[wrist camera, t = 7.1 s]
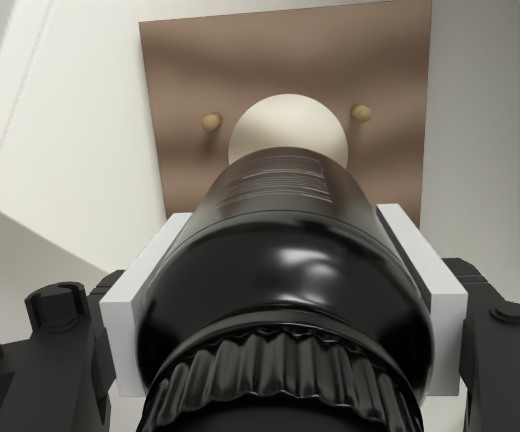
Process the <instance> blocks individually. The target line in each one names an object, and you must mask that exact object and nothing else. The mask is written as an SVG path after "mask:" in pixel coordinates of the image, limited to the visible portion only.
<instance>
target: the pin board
mask: <svg viewBox="0 0 520 432" xmlns="http://www.w3.org/2000/svg"><path fill="white" fill-rule="evenodd" d="M431 10H432V0H399V1H387V2H375V3H363V4H351V5H339V6H327V7H315V8H303V9H291V10H279V11H267V12H255V13H243V14H231V15H219V16H207V17H195V18H183V19H171V20H159V21H147V22H139V29H140V36H141V43H142V50H143V57H144V64H145V71H146V78H147V85H148V92H149V98H150V105H151V112H152V119H153V126H154V133H155V140H156V147H157V154H158V161H159V168H160V175H161V182H162V189H163V196H164V203H165V210H166V217H167V221H168V219H169V218H170V217H171V216H172V215H173V213H192V212H193V213H194V211H195V210H196V208H197V206H198V205H199V203H200V202H201V200H202V198H203V197H204V195H205V194H206V192H207V191H208V189H209V188H210V186H211V185H212V184H213V182H214V181H215V180H216V178H217V177H218V176H219V175H220V174H221V173H222V172H223V171H224V170H225V169H226V168H227V167H228V166H230V165H231V164H232V163H234V162H235V161H236V160H238V159H240V158H241V157H243V156H245V155H247V154H249V153H252V152H254V151H257V150H260V149H265V148H269V147H277V146H294V147H301V148H306V149H310V150H313V151H316V152H319V153H321V154H323V155H325V156H327V157H329V158H331V159H332V160H334V161H336V162H337V163H338V164H340V165H341V166H342V167H343V168H345V169H346V170H347V171H348V172H349V173H350V174H351V175H352V177H353V178H354V179H355V180H356V181H357V183H358V184H359V186H360V187H361V189H362V190H363V192H364V194H365V195H366V197H367V199H368V201H369V202H370V204H371V206H372V207H373V209H374V211H375V213H376V204H396V203H398V204H399V206H400V207H401V208H402V209H403V211H404V212H405V213H406V215H407V216H408V217H409V218H410V220H411V221H412V222H413V224H414V225H415V226H416V227H417V229H418V230H419V225H420V207H421V189H422V171H423V153H424V135H425V117H426V99H427V81H428V63H429V46H430V28H431Z"/></svg>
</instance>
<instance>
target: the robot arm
mask: <svg viewBox="0 0 520 432" xmlns="http://www.w3.org/2000/svg"><path fill="white" fill-rule="evenodd" d="M192 214H193V212H192V213H173V215H172V216H171V217H170V218H169V219H168V221H167V222H166V223H165V224H164V225H163V227H162V228H161V229H160V230H159V231H158V233H157V234H156V235H155V236H154V237H153V238H152V240H151V241H150V242H149V243H148V244H147V246H146V247H145V248H144V249H143V250H142V252H141V253H140V254H139V255H138V256H137V258H136V259H135V260H134V261H133V262H132V264H131V265H130V266H129V267H128V268H127V270H116V271H115V272H113V273H111V274H109V275H108V276H106V277H104V278H103V279H102V280H101V282H100V283H99V284H98V285H97V286H96V288H94V289H93V290H92V291H91V292H90V295H88V296H87V297H86V293H85V289H84V285H83V284H81V283H79V282H60V283H56V284H52V285H48V286H45V287H43V288H40V289H38V290H36V291H35V292H33V293H31V294H30V295H29V296H28V297H27V298H26V299H25V300H24V301H25V304H26V308H27V311H28V315H29V319H30V322H31V326H32V330H33V332H32V334H31V337H30V339H27V340H22V341H17V342H12V343H7V344H2V345H1V344H0V432H109V427H110V414H111V404H110V399H109V395H108V390H109V389H110V387H111V385H112V383H113V382H114V380H115V379H116V383H117V388H118V392H119V396H120V397H146V396H145V393H144V391H143V388H142V385H141V382H140V379H139V375H138V371H137V366H136V360H135V349H134V335H135V325H136V320H137V315H138V311H139V308H140V305H141V301H142V299H143V297H144V295H145V293H146V290H147V288H148V286H149V284H150V282H151V280H152V278H153V277H154V275H155V273H156V272H157V270H158V268H159V267H160V265H161V263H162V262H163V260H164V259H165V257H166V255H167V254H168V252H169V251H170V249H171V247H172V246H173V244H174V243H175V241H176V240H177V238H178V236H179V235H180V233H181V232H182V230H183V228H184V227H185V225H186V224H187V222H188V221H189V219H190V217H191V216H192ZM376 214H377V216H378V218H379V220H380V221H381V223H382V225H383V227H384V228H385V230H386V232H387V233H388V235H389V237H390V239H391V240H392V242H393V244H394V246H395V247H396V249H397V251H398V253H399V254H400V256H401V258H402V260H403V261H404V263H405V265H406V266H407V268H408V270H409V272H410V273H411V275H412V277H413V279H414V281H415V283H416V284H417V286H418V288H419V290H420V292H421V294H422V296H423V298H424V301H425V303H426V306H427V308H428V311H429V314H430V317H431V321H432V326H433V332H434V340H435V359H434V367H433V374H432V378H431V382H430V386H429V389H428V392H427V394H426V396H458V393H459V383H460V376H461V378H462V379H463V381H464V383H465V385H466V387H467V389H468V390H467V400H466V409H465V419H464V428H463V432H520V304H518V303H513V302H509V301H505V300H504V298H503V297H502V296H501V295H500V294H499V293H498V292H497V291H496V290H495V289H494V288H493V286H492V285H491V284H490V283H488V281H487V280H486V279H485V278H484V277H483V276H481V273H480V272H479V271H478V270H477V269H476V268H475V267H474V266H473V265H472V264H470V263H468V262H466V261H464V260H462V259H460V258H440V257H439V255H438V254H437V253H436V252H435V250H434V249H433V248H432V247H431V245H430V244H429V243H428V241H427V240H426V239H425V238H424V236H423V235H422V234H421V232H420V231H419V230H418V229H417V227H416V226H415V225H414V224H413V222H412V221H411V220H410V218H409V217H408V216H407V215H406V213H405V212H404V211H403V209H402V208H401V207H400V206H399V204H398V203H396V204H376Z"/></svg>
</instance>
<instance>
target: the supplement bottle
mask: <svg viewBox="0 0 520 432" xmlns="http://www.w3.org/2000/svg"><path fill="white" fill-rule="evenodd" d="M134 349H135V360H136V366H137V371H138V375H139V379H140V382H141V385H142V388H143V391H144V393H145V396H146V400H145V403H144V407H143V412H142V418H141V420H140V423H139V425H138V427H137V430H136V432H424V427H423V420H422V415H421V411H420V408H421V406H422V404H423V402H424V400H425V397H426V394H427V392H428V389H429V386H430V382H431V378H432V374H433V367H434V359H435V340H434V332H433V326H432V321H431V317H430V314H429V311H428V308H427V306H426V303H425V301H424V298H423V296H422V294H421V292H420V290H419V288H418V286H417V284H416V283H415V281H414V279H413V277H412V275H411V273H410V272H409V270H408V268H407V266H406V265H405V263H404V261H403V260H402V258H401V256H400V254H399V253H398V251H397V249H396V247H395V246H394V244H393V242H392V240H391V239H390V237H389V235H388V233H387V232H386V230H385V228H384V227H383V225H382V223H381V221H380V220H379V218H378V216H377V214H376V213H375V211H374V209H373V207H372V206H371V204H370V202H369V201H368V199H367V197H366V195H365V194H364V192H363V190H362V189H361V187H360V186H359V184H358V183H357V181H356V180H355V179H354V178H353V177H352V175H351V174H350V173H349V172H348V171H347V170H346V169H345V168H343V167H342V166H341V165H340V164H338V163H337V162H336V161H334V160H332V159H331V158H329V157H327V156H325V155H323V154H321V153H319V152H316V151H313V150H310V149H306V148H301V147H294V146H277V147H269V148H265V149H260V150H257V151H254V152H252V153H249V154H247V155H245V156H243V157H241V158H240V159H238V160H236V161H235V162H234V163H232V164H231V165H230V166H228V167H227V168H226V169H225V170H224V171H223V172H222V173H221V174H220V175H219V176H218V177H217V178H216V180H215V181H214V182H213V184H212V185H211V186H210V188H209V189H208V191H207V192H206V194H205V195H204V197H203V198H202V200H201V202H200V203H199V205H198V206H197V208H196V210H195V211H194V213H193V214H192V216H191V217H190V219H189V221H188V222H187V224H186V225H185V227H184V228H183V230H182V232H181V233H180V235H179V236H178V238H177V240H176V241H175V243H174V244H173V246H172V247H171V249H170V251H169V252H168V254H167V255H166V257H165V259H164V260H163V262H162V263H161V265H160V267H159V268H158V270H157V272H156V273H155V275H154V277H153V278H152V280H151V282H150V284H149V286H148V288H147V290H146V293H145V295H144V297H143V299H142V301H141V305H140V308H139V311H138V315H137V320H136V325H135V335H134Z"/></svg>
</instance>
